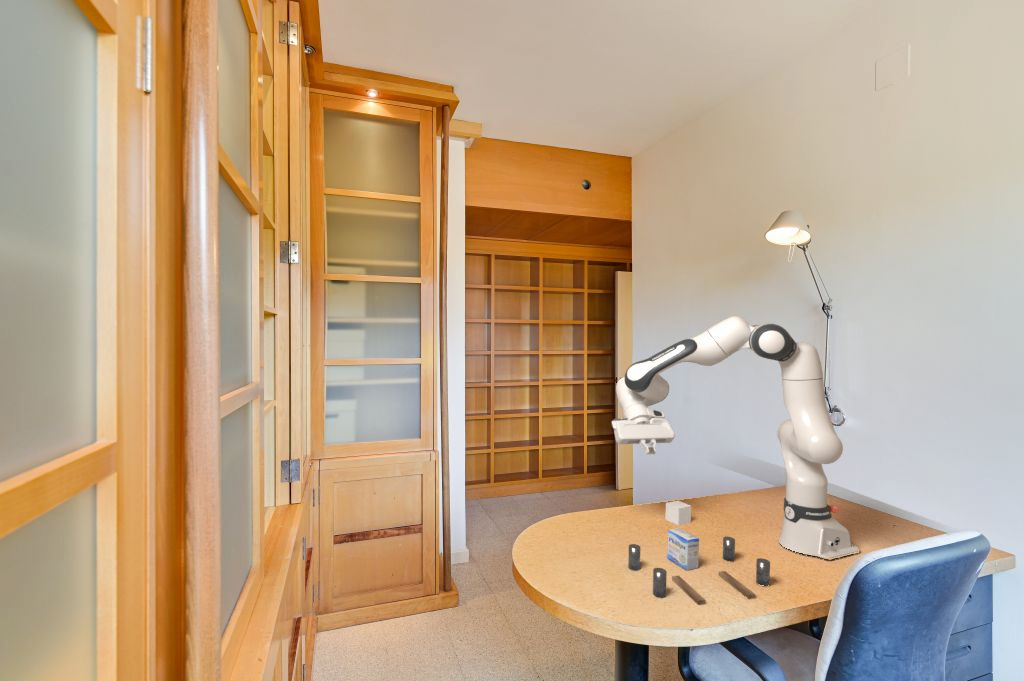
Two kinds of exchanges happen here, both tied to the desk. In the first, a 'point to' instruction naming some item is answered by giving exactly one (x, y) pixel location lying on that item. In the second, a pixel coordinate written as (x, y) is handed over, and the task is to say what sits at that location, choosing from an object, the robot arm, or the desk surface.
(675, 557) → the medicine box
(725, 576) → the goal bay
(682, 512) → the white cube
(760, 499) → the desk surface
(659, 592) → the spacer posts
